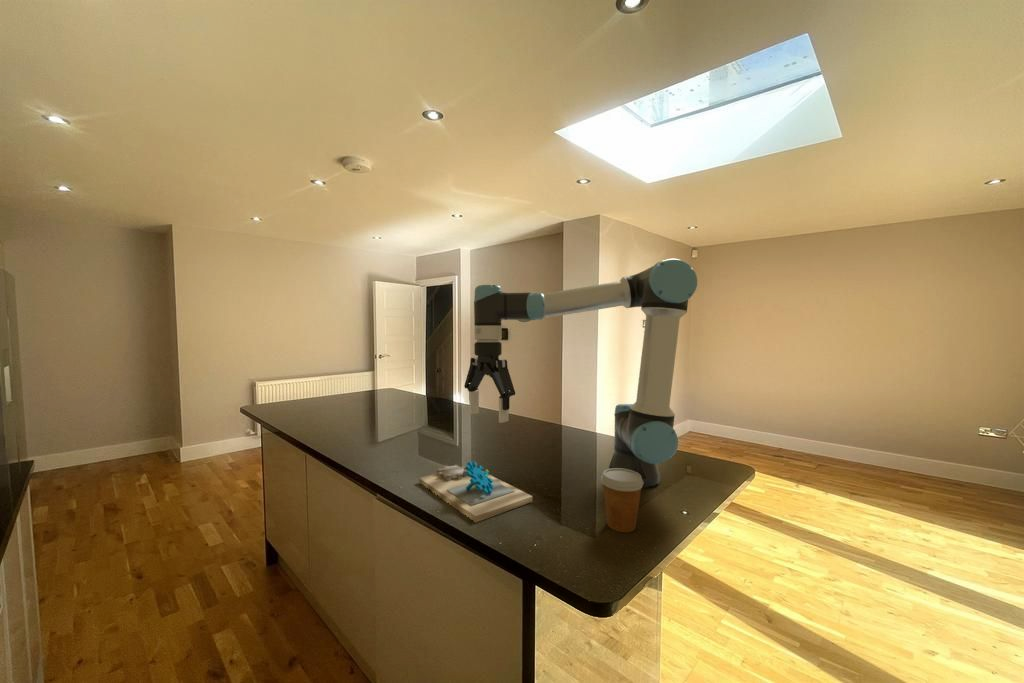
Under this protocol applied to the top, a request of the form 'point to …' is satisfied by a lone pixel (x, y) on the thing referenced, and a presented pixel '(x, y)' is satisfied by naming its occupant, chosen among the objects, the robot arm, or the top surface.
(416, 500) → the top surface
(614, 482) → the disposable coffee cup
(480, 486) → the gear
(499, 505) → the carrier board
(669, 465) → the top surface
